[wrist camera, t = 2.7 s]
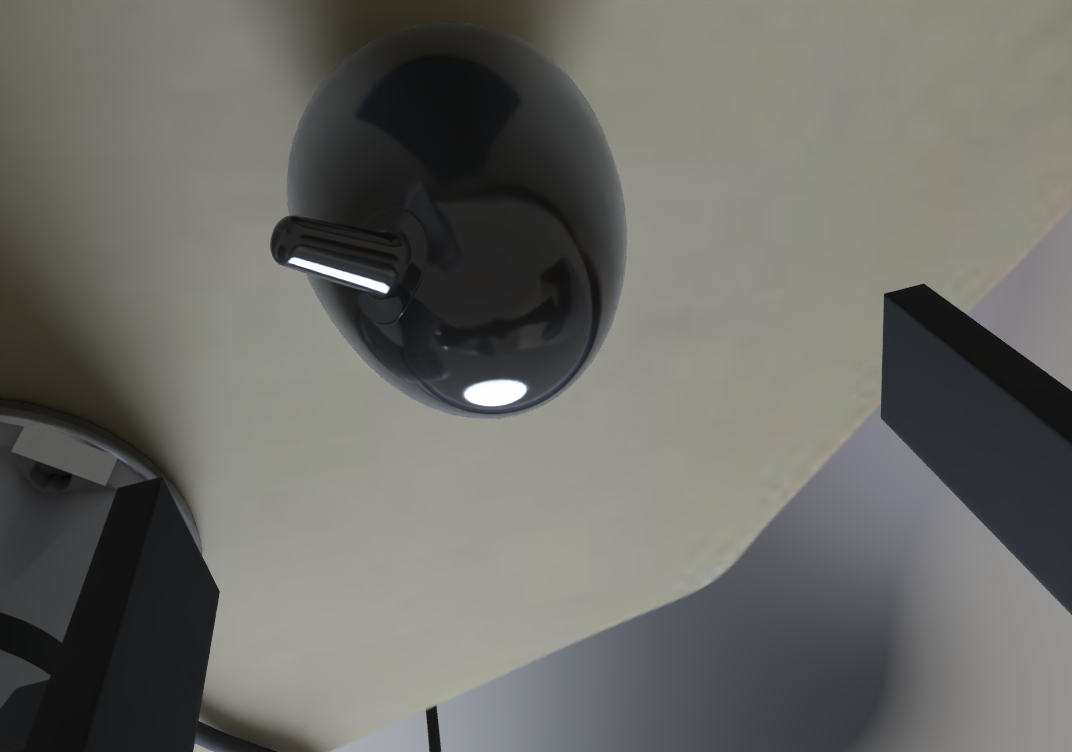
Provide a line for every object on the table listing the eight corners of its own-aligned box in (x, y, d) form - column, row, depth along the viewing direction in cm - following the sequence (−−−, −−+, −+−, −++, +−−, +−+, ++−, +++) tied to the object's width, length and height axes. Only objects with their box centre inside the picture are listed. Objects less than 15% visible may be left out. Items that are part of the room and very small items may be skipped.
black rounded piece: (361, -60, 28) (380, 5, 16) (629, 94, 33) (822, 248, 20) (242, 218, 32) (177, 460, 19) (497, 326, 36) (585, 586, 23)
